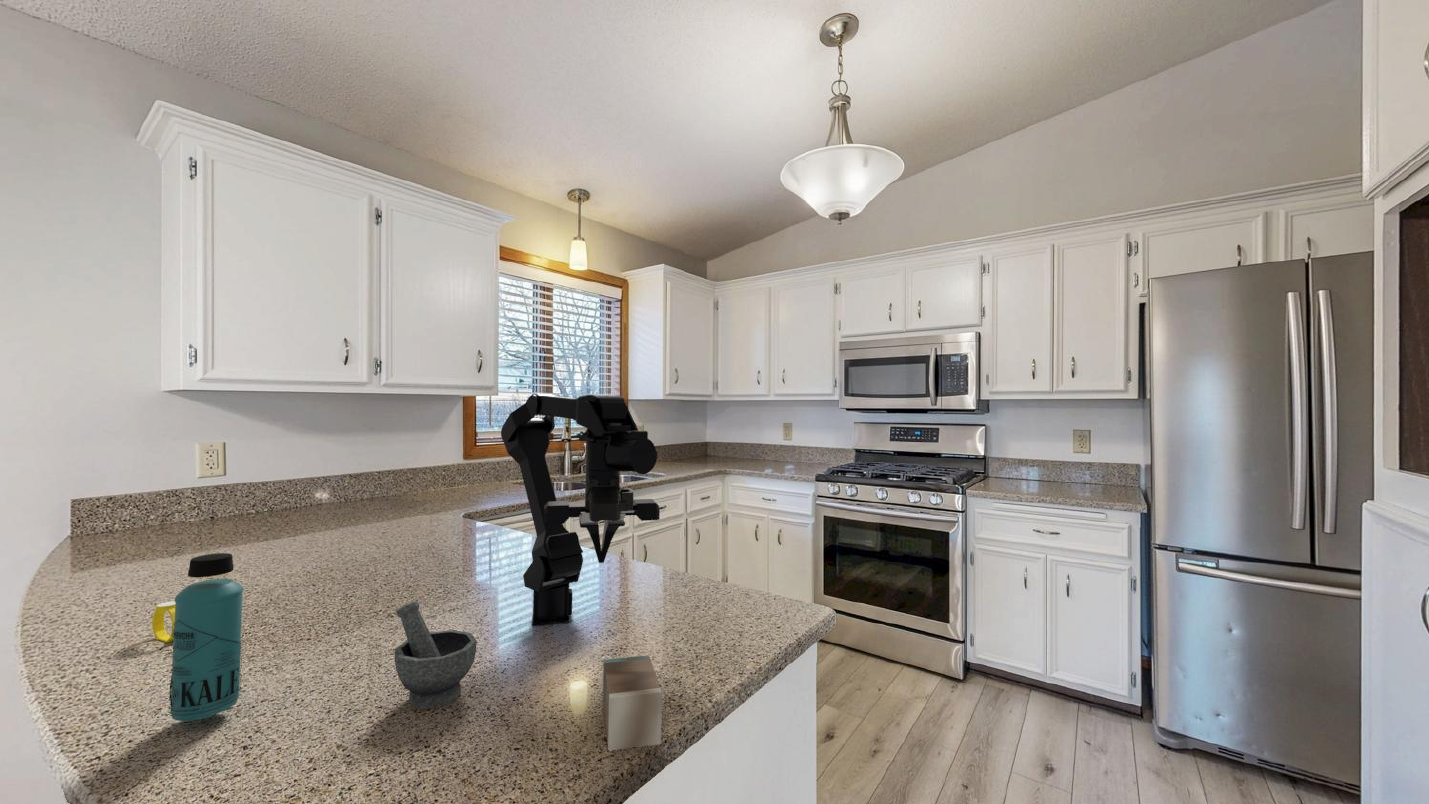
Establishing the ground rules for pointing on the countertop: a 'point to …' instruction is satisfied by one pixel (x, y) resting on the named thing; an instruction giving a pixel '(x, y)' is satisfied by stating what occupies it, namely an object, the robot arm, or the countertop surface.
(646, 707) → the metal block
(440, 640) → the mortar and pestle
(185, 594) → the beverage bottle
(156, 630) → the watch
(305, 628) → the countertop surface
